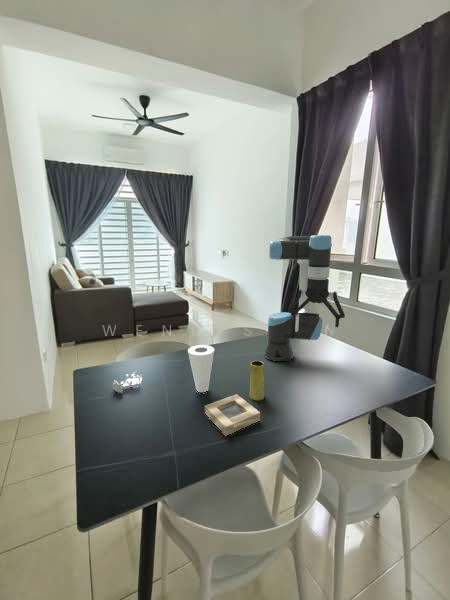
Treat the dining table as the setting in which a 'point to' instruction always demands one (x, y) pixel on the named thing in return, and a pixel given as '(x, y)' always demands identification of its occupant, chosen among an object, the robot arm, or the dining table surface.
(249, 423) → the square wooden frame
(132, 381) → the figurine
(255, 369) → the vase
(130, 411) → the dining table surface
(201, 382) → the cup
